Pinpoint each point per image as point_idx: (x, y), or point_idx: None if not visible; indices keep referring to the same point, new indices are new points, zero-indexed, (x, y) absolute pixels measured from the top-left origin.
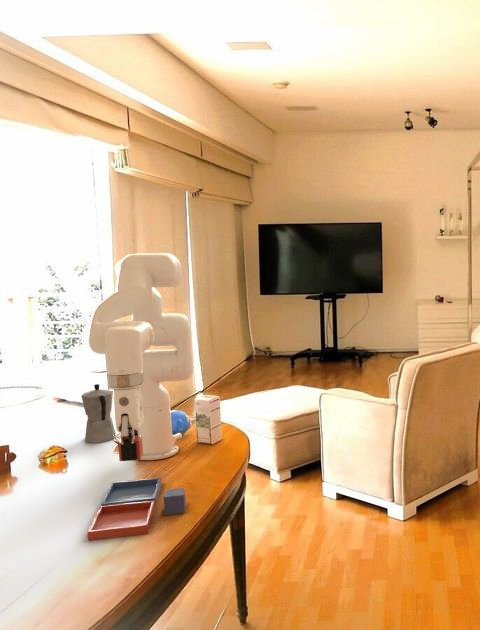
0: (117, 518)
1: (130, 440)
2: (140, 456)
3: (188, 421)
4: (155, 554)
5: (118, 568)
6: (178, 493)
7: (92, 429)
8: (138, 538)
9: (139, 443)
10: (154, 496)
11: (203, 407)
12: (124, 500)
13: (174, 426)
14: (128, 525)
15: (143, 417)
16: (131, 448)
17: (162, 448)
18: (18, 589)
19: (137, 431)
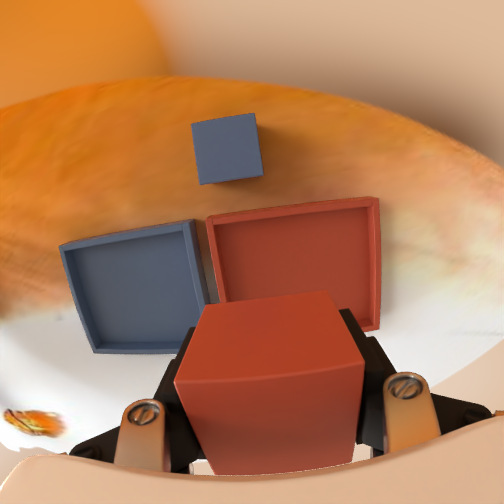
0: (278, 294)
1: (456, 401)
2: (324, 296)
3: None
4: (457, 163)
5: (485, 222)
6: (236, 133)
7: None
8: (389, 213)
9: (356, 345)
10: (175, 227)
11: None
12: (164, 306)
13: None
14: (329, 254)
15: (57, 495)
16: (393, 367)
17: None
18: (482, 345)
19: (163, 430)
